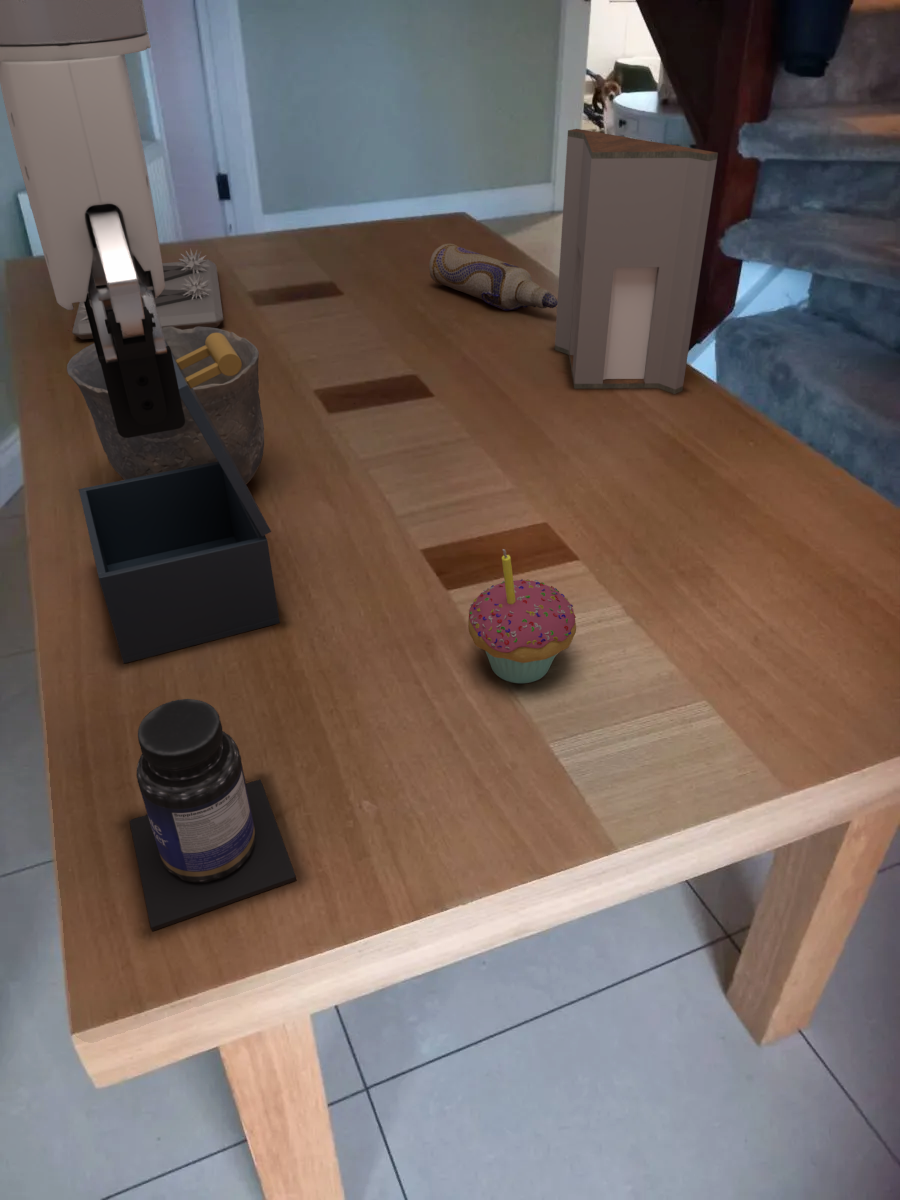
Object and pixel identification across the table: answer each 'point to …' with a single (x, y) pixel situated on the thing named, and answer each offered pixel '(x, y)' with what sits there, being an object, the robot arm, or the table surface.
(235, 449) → the bowl
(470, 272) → the decorative bottle
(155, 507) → the chest
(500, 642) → the cupcake
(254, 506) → the lid
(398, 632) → the table surface
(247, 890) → the mat
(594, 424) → the table surface
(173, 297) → the gray box with spikes
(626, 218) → the cabinet
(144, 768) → the pill bottle
